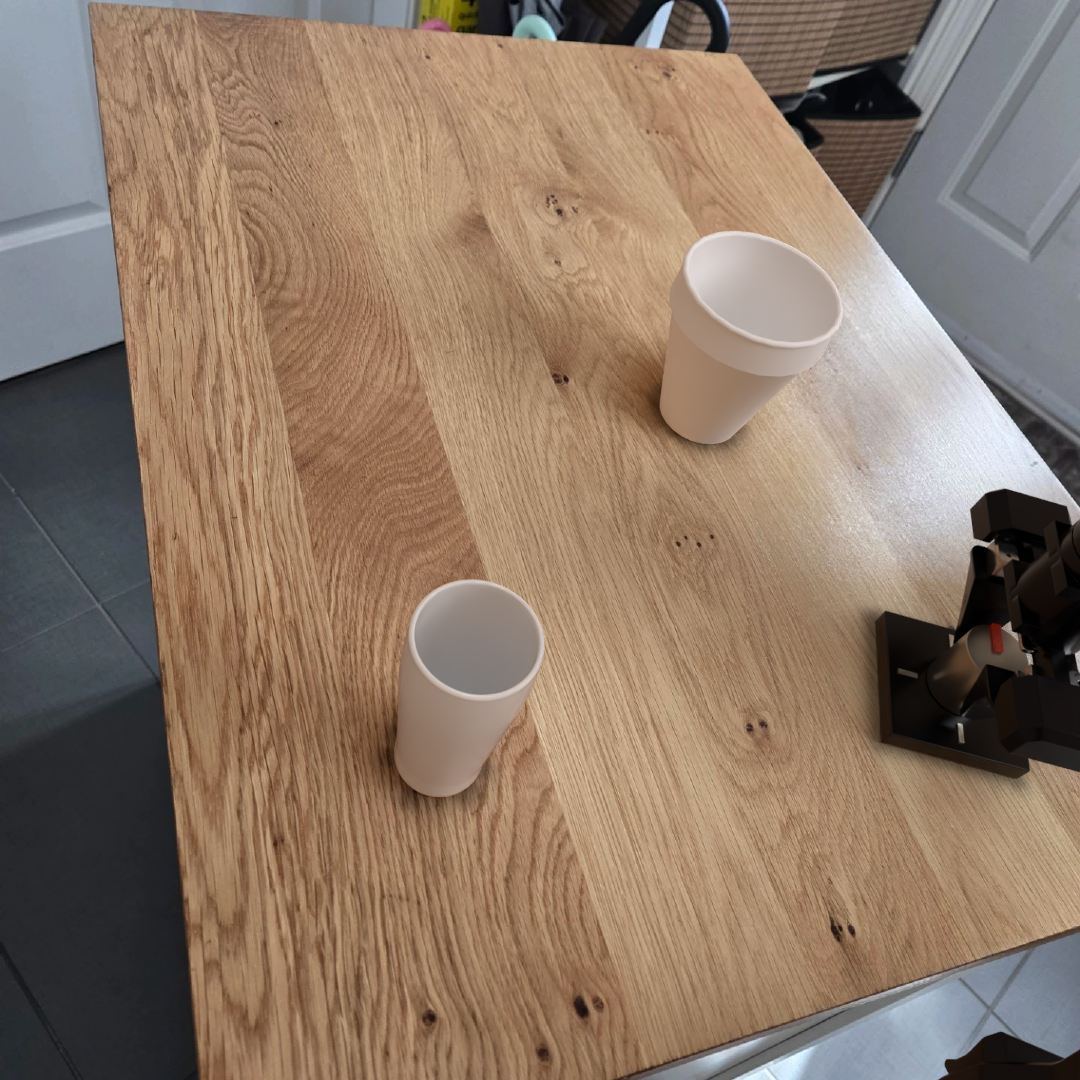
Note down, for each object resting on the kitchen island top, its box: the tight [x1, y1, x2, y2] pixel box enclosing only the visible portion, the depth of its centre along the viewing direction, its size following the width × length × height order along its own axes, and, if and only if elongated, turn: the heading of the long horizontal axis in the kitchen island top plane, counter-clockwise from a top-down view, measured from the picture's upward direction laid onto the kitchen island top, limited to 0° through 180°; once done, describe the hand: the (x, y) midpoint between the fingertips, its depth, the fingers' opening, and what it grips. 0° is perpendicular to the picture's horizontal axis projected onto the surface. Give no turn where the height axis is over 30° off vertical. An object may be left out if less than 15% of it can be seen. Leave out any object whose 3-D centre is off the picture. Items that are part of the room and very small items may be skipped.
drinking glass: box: [393, 578, 546, 798], centre depth 52 cm, size 7×7×15 cm
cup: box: [659, 230, 844, 445], centre depth 74 cm, size 12×12×14 cm
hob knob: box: [927, 623, 1030, 715], centre depth 65 cm, size 4×4×5 cm
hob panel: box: [875, 610, 1031, 779], centre depth 68 cm, size 10×10×2 cm
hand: (963, 680), depth 67 cm, fingers open, 5 cm apart
